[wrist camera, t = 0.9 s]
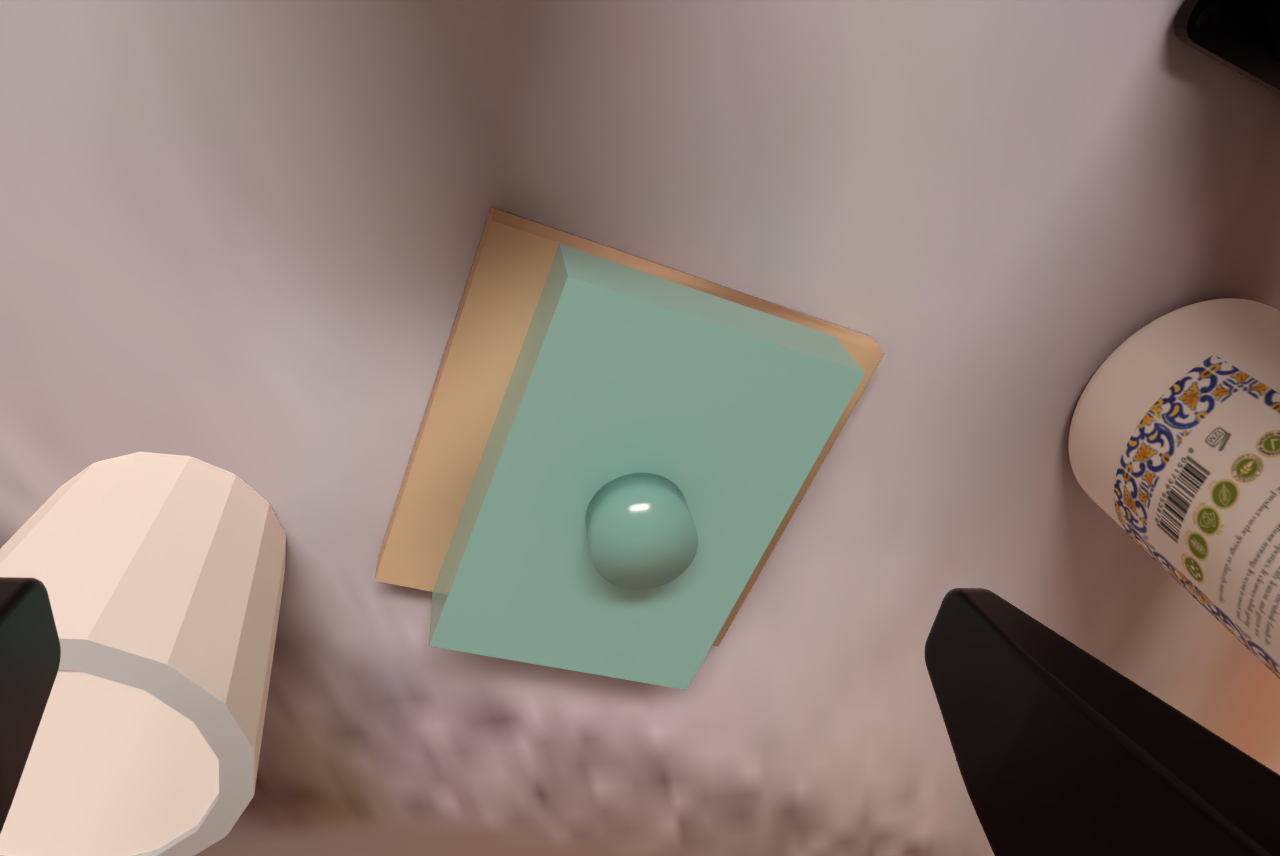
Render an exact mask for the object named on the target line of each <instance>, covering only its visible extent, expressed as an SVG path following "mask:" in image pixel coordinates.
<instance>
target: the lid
mask: <svg viewBox="0 0 1280 856" xmlns="http://www.w3.org/2000/svg"><path fill="white" fill-rule="evenodd" d="M864 374H865V372H864V371H863V370H862V369H861V367H860V366H859V365H858V364H857V363H856V362H855V360H854V359H853V358H852V357H851V356H850V355H849V353H848V352H847V351H846V350H845V349H844V347H843V346H842V345H841V344H840V343H839V342H838V340H837V339H836V338H835V337H834V336H833V335H830V334H827V333H824V332H821V331H818V330H815V329H812V328H809V327H806V326H803V325H800V324H797V323H794V322H791V321H788V320H785V319H782V318H779V317H776V316H773V315H770V314H767V313H765V312H762V311H759V310H756V309H753V308H750V307H747V306H744V305H741V304H738V303H735V302H732V301H729V300H726V299H723V298H720V297H717V296H714V295H711V294H708V293H705V292H702V291H699V290H696V289H693V288H690V287H687V286H684V285H681V284H678V283H675V282H672V281H669V280H666V279H664V278H661V277H658V276H655V275H652V274H649V273H646V272H643V271H640V270H637V269H634V268H631V267H628V266H625V265H622V264H619V263H616V262H613V261H610V260H607V259H604V258H601V257H598V256H595V255H592V254H589V253H586V252H583V251H580V250H577V249H574V248H571V247H568V246H565V245H562V244H560V243H559V246H558V249H557V252H556V254H555V257H554V260H553V263H552V265H551V268H550V271H549V274H548V276H547V279H546V282H545V285H544V287H543V290H542V293H541V296H540V298H539V301H538V304H537V306H536V309H535V312H534V315H533V317H532V320H531V323H530V326H529V328H528V331H527V334H526V337H525V339H524V342H523V345H522V348H521V350H520V353H519V356H518V359H517V361H516V364H515V367H514V370H513V372H512V375H511V378H510V380H509V383H508V386H507V389H506V391H505V394H504V397H503V400H502V402H501V405H500V408H499V411H498V413H497V416H496V419H495V422H494V424H493V427H492V430H491V433H490V435H489V438H488V441H487V444H486V446H485V449H484V452H483V454H482V457H481V460H480V463H479V465H478V468H477V471H476V474H475V476H474V479H473V482H472V485H471V487H470V490H469V493H468V496H467V498H466V501H465V504H464V507H463V509H462V512H461V515H460V518H459V520H458V523H457V526H456V528H455V531H454V534H453V537H452V539H451V542H450V545H449V548H448V550H447V553H446V556H445V559H444V561H443V564H442V567H441V570H440V572H439V575H438V578H437V581H436V583H435V586H434V589H433V592H432V606H431V622H430V638H429V646H431V647H437V648H443V649H449V650H455V651H461V652H466V653H472V654H478V655H484V656H490V657H496V658H502V659H507V660H513V661H519V662H525V663H531V664H537V665H543V666H548V667H554V668H560V669H566V670H572V671H578V672H584V673H590V674H595V675H601V676H607V677H613V678H619V679H625V680H631V681H636V682H642V683H648V684H654V685H660V686H666V687H672V688H677V689H683V690H687V688H688V687H689V685H690V683H691V681H692V680H693V678H694V676H695V674H696V672H697V671H698V669H699V667H700V665H701V664H702V662H703V660H704V658H705V656H706V655H707V653H708V651H709V649H710V648H711V646H712V644H713V642H714V640H715V639H716V637H717V635H718V633H719V632H720V630H721V628H722V626H723V624H724V623H725V621H726V619H727V617H728V616H729V614H730V612H731V610H732V608H733V607H734V605H735V603H736V601H737V600H738V598H739V596H740V594H741V592H742V591H743V589H744V587H745V585H746V584H747V582H748V580H749V578H750V577H751V575H752V573H753V571H754V569H755V568H756V566H757V564H758V562H759V561H760V559H761V557H762V555H763V553H764V552H765V550H766V548H767V546H768V545H769V543H770V541H771V539H772V537H773V536H774V534H775V532H776V530H777V529H778V527H779V525H780V523H781V521H782V520H783V518H784V516H785V514H786V513H787V511H788V509H789V507H790V505H791V504H792V502H793V500H794V498H795V497H796V495H797V493H798V491H799V490H800V488H801V486H802V484H803V482H804V481H805V479H806V477H807V475H808V474H809V472H810V470H811V468H812V466H813V465H814V463H815V461H816V459H817V458H818V456H819V454H820V452H821V450H822V449H823V447H824V445H825V443H826V442H827V440H828V438H829V436H830V434H831V433H832V431H833V429H834V427H835V426H836V424H837V422H838V420H839V418H840V417H841V415H842V413H843V411H844V410H845V408H846V406H847V404H848V402H849V401H850V399H851V397H852V395H853V394H854V392H855V390H856V388H857V387H858V385H859V383H860V381H861V379H862V378H863V376H864Z"/></svg>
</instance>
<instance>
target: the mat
mask: <svg viewBox="0 0 1280 856" xmlns="http://www.w3.org/2000/svg"><path fill="white" fill-rule="evenodd" d="M559 243H560V244H562V245H565V246H568V247H571V248H574V249H577V250H580V251H583V252H586V253H589V254H592V255H595V256H598V257H601V258H604V259H607V260H610V261H613V262H616V263H619V264H622V265H625V266H628V267H631V268H634V269H637V270H640V271H643V272H646V273H649V274H652V275H655V276H658V277H661V278H664V279H666V280H669V281H672V282H675V283H678V284H681V285H684V286H687V287H690V288H693V289H696V290H699V291H702V292H705V293H708V294H711V295H714V296H717V297H720V298H723V299H726V300H729V301H732V302H735V303H738V304H741V305H744V306H747V307H750V308H753V309H756V310H759V311H762V312H765V313H767V314H770V315H773V316H776V317H779V318H782V319H785V320H788V321H791V322H794V323H797V324H800V325H803V326H806V327H809V328H812V329H815V330H818V331H821V332H824V333H827V334H830V335H833V336H834V337H835V338H836V339H837V340H838V342H839V343H840V344H841V345H842V346H843V347H844V349H845V350H846V351H847V352H848V353H849V355H850V356H851V357H852V358H853V359H854V360H855V362H856V363H857V364H858V365H859V366H860V367H861V369H862V370H863V371H864V372H865V374H864V376H863V378H862V379H861V381H860V383H859V385H858V387H857V388H856V390H855V392H854V394H853V395H852V397H851V399H850V401H849V402H848V404H847V406H846V408H845V410H844V411H843V413H842V415H841V417H840V418H839V420H838V422H837V424H836V426H835V427H834V429H833V431H832V433H831V434H830V436H829V438H828V440H827V442H826V443H825V445H824V447H823V449H822V450H821V452H820V454H819V456H818V458H817V459H816V461H815V463H814V465H813V466H812V468H811V470H810V472H809V474H808V475H807V477H806V479H805V481H804V482H803V484H802V486H801V488H800V490H799V491H798V493H797V495H796V497H795V498H794V500H793V502H792V504H791V505H790V507H789V509H788V511H787V513H786V514H785V516H784V518H783V520H782V521H781V523H780V525H779V527H778V529H777V530H776V532H775V534H774V536H773V537H772V539H771V541H770V543H769V545H768V546H767V548H766V550H765V552H764V553H763V555H762V557H761V559H760V561H759V562H758V564H757V566H756V568H755V569H754V571H753V573H752V575H751V577H750V578H749V580H748V582H747V584H746V585H745V587H744V589H743V591H742V592H741V594H740V596H739V598H738V600H737V601H736V603H735V605H734V607H733V608H732V610H731V612H730V614H729V616H728V617H727V619H726V621H725V623H724V624H723V626H722V628H721V630H720V632H719V633H718V635H717V637H716V639H715V640H714V642H713V644H712V645H713V646H719V644H720V642H721V641H722V639H723V637H724V635H725V634H726V632H727V630H728V628H729V626H730V625H731V623H732V621H733V619H734V618H735V616H736V614H737V612H738V611H739V609H740V607H741V605H742V604H743V602H744V600H745V598H746V597H747V595H748V593H749V591H750V589H751V588H752V586H753V584H754V582H755V581H756V579H757V577H758V575H759V574H760V572H761V570H762V568H763V567H764V565H765V563H766V561H767V560H768V558H769V556H770V554H771V553H772V551H773V549H774V547H775V545H776V544H777V542H778V540H779V538H780V537H781V535H782V533H783V531H784V530H785V528H786V526H787V524H788V523H789V521H790V519H791V517H792V516H793V514H794V512H795V510H796V508H797V507H798V505H799V503H800V501H801V500H802V498H803V496H804V494H805V493H806V491H807V489H808V487H809V486H810V484H811V482H812V480H813V479H814V477H815V475H816V473H817V471H818V470H819V468H820V466H821V464H822V463H823V461H824V459H825V457H826V456H827V454H828V452H829V450H830V449H831V447H832V445H833V443H834V442H835V440H836V438H837V436H838V435H839V433H840V431H841V429H842V427H843V426H844V424H845V422H846V420H847V419H848V417H849V415H850V413H851V412H852V410H853V408H854V406H855V405H856V403H857V401H858V399H859V398H860V396H861V394H862V392H863V390H864V389H865V387H866V385H867V383H868V382H869V380H870V378H871V376H872V375H873V373H874V371H875V369H876V368H877V366H878V364H879V362H880V361H881V359H882V357H883V355H884V354H885V353H884V352H883V351H882V349H881V348H880V347H879V346H878V345H877V344H876V343H875V342H874V341H873V340H872V339H871V338H870V337H869V336H867V335H864V334H861V333H858V332H855V331H852V330H849V329H847V328H844V327H841V326H838V325H835V324H832V323H829V322H826V321H823V320H820V319H817V318H814V317H811V316H808V315H806V314H803V313H800V312H797V311H794V310H791V309H788V308H785V307H782V306H779V305H776V304H773V303H770V302H767V301H765V300H762V299H759V298H756V297H753V296H750V295H747V294H744V293H741V292H738V291H735V290H732V289H729V288H727V287H724V286H721V285H718V284H715V283H712V282H709V281H706V280H703V279H700V278H697V277H694V276H691V275H688V274H686V273H683V272H680V271H677V270H674V269H671V268H668V267H665V266H662V265H659V264H656V263H653V262H650V261H647V260H645V259H642V258H639V257H636V256H633V255H630V254H627V253H624V252H621V251H618V250H615V249H612V248H609V247H607V246H604V245H601V244H598V243H595V242H592V241H589V240H586V239H583V238H580V237H577V236H574V235H571V234H568V233H566V232H563V231H560V230H557V229H554V228H551V227H548V226H545V225H542V224H539V223H536V222H533V221H530V220H527V219H525V218H522V217H519V216H516V215H513V214H510V213H507V212H504V211H501V210H498V209H495V208H492V207H491V209H490V212H489V215H488V219H487V222H486V225H485V228H484V231H483V234H482V237H481V240H480V243H479V246H478V250H477V253H476V256H475V259H474V262H473V265H472V268H471V271H470V274H469V277H468V281H467V284H466V287H465V290H464V293H463V296H462V299H461V302H460V305H459V308H458V311H457V315H456V318H455V321H454V324H453V327H452V330H451V333H450V336H449V339H448V342H447V346H446V349H445V352H444V355H443V358H442V361H441V364H440V367H439V370H438V373H437V377H436V380H435V383H434V386H433V389H432V392H431V395H430V398H429V401H428V404H427V407H426V411H425V414H424V417H423V420H422V423H421V426H420V429H419V432H418V435H417V438H416V442H415V445H414V448H413V451H412V454H411V457H410V460H409V463H408V466H407V469H406V473H405V476H404V479H403V482H402V485H401V488H400V491H399V494H398V497H397V500H396V503H395V507H394V510H393V513H392V516H391V519H390V522H389V525H388V528H387V531H386V534H385V538H384V541H383V544H382V547H381V550H380V553H379V556H378V562H377V569H376V576H375V581H378V582H384V583H389V584H394V585H399V586H405V587H410V588H415V589H420V590H426V591H431V592H433V589H434V586H435V583H436V581H437V578H438V575H439V572H440V570H441V567H442V564H443V561H444V559H445V556H446V553H447V550H448V548H449V545H450V542H451V539H452V537H453V534H454V531H455V528H456V526H457V523H458V520H459V518H460V515H461V512H462V509H463V507H464V504H465V501H466V498H467V496H468V493H469V490H470V487H471V485H472V482H473V479H474V476H475V474H476V471H477V468H478V465H479V463H480V460H481V457H482V454H483V452H484V449H485V446H486V444H487V441H488V438H489V435H490V433H491V430H492V427H493V424H494V422H495V419H496V416H497V413H498V411H499V408H500V405H501V402H502V400H503V397H504V394H505V391H506V389H507V386H508V383H509V380H510V378H511V375H512V372H513V370H514V367H515V364H516V361H517V359H518V356H519V353H520V350H521V348H522V345H523V342H524V339H525V337H526V334H527V331H528V328H529V326H530V323H531V320H532V317H533V315H534V312H535V309H536V306H537V304H538V301H539V298H540V296H541V293H542V290H543V287H544V285H545V282H546V279H547V276H548V274H549V271H550V268H551V265H552V263H553V260H554V257H555V254H556V252H557V249H558V246H559Z"/></svg>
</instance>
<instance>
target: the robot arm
mask: <svg viewBox="0 0 1280 856" xmlns="http://www.w3.org/2000/svg"><path fill="white" fill-rule="evenodd" d="M1205 9H1206V14H1207V16H1206V18H1205V21H1204V23H1203V24H1202V25H1201V26H1200V27H1199V28H1198V24H1197V21H1198V19H1199V16H1200V14H1201V13H1202V12H1203V11H1204V10H1205ZM1174 29H1175V33H1176V36H1177V37H1178V38H1179V39H1180V40H1181V41H1183V42H1185V43H1187V44H1188V45H1190V46H1192V47H1194V48H1196V49H1197V50H1199V51H1201V52H1203V53H1205V54H1207V55H1208V56H1210V57H1212V58H1214V59H1216V60H1218V61H1219V62H1221V63H1223V64H1225V65H1227V66H1228V67H1230V68H1232V69H1234V70H1236V71H1238V72H1239V73H1241V74H1243V75H1245V76H1247V77H1248V78H1250V79H1252V80H1254V81H1256V82H1258V83H1259V84H1261V85H1263V86H1265V87H1267V88H1268V89H1270V90H1272V91H1274V92H1276V93H1278V94H1279V95H1280V0H1185V1H1184V2H1183V4H1182V5H1181V7H1180V9H1179V11H1178V13H1177V15H1176V18H1175V25H1174ZM60 657H61V647H60V641H59V637H58V633H57V629H56V625H55V620H54V616H53V612H52V608H51V604H50V600H49V596H48V592H47V589H46V587H45V585H44V584H43V583H42V582H41V581H40V580H38V579H35V578H22V577H0V833H1V831H2V829H3V826H4V823H5V821H6V818H7V815H8V813H9V810H10V808H11V805H12V802H13V799H14V796H15V794H16V791H17V788H18V785H19V782H20V779H21V776H22V773H23V771H24V768H25V765H26V762H27V759H28V756H29V753H30V750H31V748H32V745H33V742H34V739H35V736H36V733H37V730H38V727H39V725H40V722H41V719H42V716H43V713H44V710H45V707H46V704H47V702H48V699H49V696H50V693H51V690H52V687H53V684H54V681H55V679H56V676H57V673H58V669H59V665H60ZM925 661H926V666H927V669H928V672H929V676H930V679H931V682H932V685H933V688H934V691H935V694H936V697H937V701H938V704H939V707H940V710H941V713H942V716H943V719H944V722H945V725H946V729H947V732H948V735H949V738H950V741H951V744H952V747H953V750H954V753H955V757H956V760H957V763H958V766H959V769H960V772H961V775H962V778H963V780H964V783H965V786H966V789H967V792H968V794H969V796H970V799H971V801H972V804H973V806H974V809H975V811H976V814H977V816H978V818H979V821H980V823H981V825H982V827H983V830H984V832H985V834H986V837H987V839H988V841H989V843H990V846H991V848H992V850H993V853H994V855H995V856H1280V775H1279V774H1277V773H1275V772H1274V771H1272V770H1271V769H1269V768H1268V767H1266V766H1264V765H1263V764H1261V763H1260V762H1258V761H1257V760H1255V759H1253V758H1252V757H1250V756H1249V755H1247V754H1246V753H1244V752H1242V751H1241V750H1239V749H1238V748H1236V747H1235V746H1233V745H1231V744H1230V743H1228V742H1227V741H1225V740H1224V739H1222V738H1220V737H1219V736H1217V735H1216V734H1214V733H1213V732H1211V731H1209V730H1208V729H1206V728H1205V727H1203V726H1202V725H1200V724H1198V723H1197V722H1195V721H1194V720H1192V719H1191V718H1189V717H1187V716H1186V715H1184V714H1183V713H1181V712H1180V711H1178V710H1176V709H1175V708H1173V707H1172V706H1170V705H1169V704H1167V703H1165V702H1164V701H1162V700H1161V699H1159V698H1158V697H1156V696H1155V695H1153V694H1151V693H1150V692H1148V691H1147V690H1145V689H1144V688H1142V687H1140V686H1139V685H1137V684H1136V683H1134V682H1133V681H1131V680H1129V679H1128V678H1126V677H1125V676H1123V675H1122V674H1120V673H1118V672H1117V671H1115V670H1114V669H1112V668H1111V667H1109V666H1107V665H1106V664H1104V663H1103V662H1101V661H1100V660H1098V659H1096V658H1095V657H1093V656H1092V655H1090V654H1089V653H1087V652H1085V651H1084V650H1082V649H1081V648H1079V647H1078V646H1076V645H1075V644H1073V643H1071V642H1070V641H1068V640H1067V639H1065V638H1064V637H1062V636H1060V635H1059V634H1057V633H1056V632H1054V631H1053V630H1051V629H1049V628H1048V627H1046V626H1045V625H1043V624H1042V623H1040V622H1038V621H1037V620H1035V619H1034V618H1032V617H1031V616H1029V615H1027V614H1026V613H1024V612H1023V611H1021V610H1020V609H1018V608H1016V607H1015V606H1013V605H1012V604H1010V603H1009V602H1007V601H1005V600H1004V599H1002V598H1001V597H999V596H998V595H996V594H995V593H993V592H991V591H989V590H986V589H981V588H956V589H952V590H950V591H949V592H948V593H947V594H946V595H945V597H944V599H943V601H942V604H941V606H940V609H939V611H938V614H937V616H936V618H935V621H934V623H933V626H932V628H931V631H930V633H929V636H928V638H927V641H926V645H925Z"/></svg>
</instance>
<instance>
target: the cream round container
mask: <svg viewBox="0 0 1280 856" xmlns="http://www.w3.org/2000/svg"><path fill="white" fill-rule="evenodd" d="M285 559H286V535H285V533H284V531H283V529H282V527H281V525H280V523H279V521H278V519H277V517H276V515H275V513H274V511H273V509H272V507H271V505H270V503H269V502H267V501H266V500H265V499H264V498H263V497H262V496H260V495H259V494H258V493H257V492H256V491H255V490H253V489H252V488H251V487H250V486H249V485H248V484H246V483H245V482H244V481H243V480H242V479H241V478H239V477H238V476H237V475H236V474H233V473H231V472H228V471H226V470H223V469H221V468H218V467H216V466H213V465H211V464H209V463H206V462H204V461H201V460H199V459H196V458H194V457H191V456H182V455H171V454H160V453H149V452H137V453H133V454H129V455H124V456H120V457H116V458H111V459H107V460H103V461H98V462H94V463H93V464H91V465H90V466H89V467H87V468H86V469H84V470H83V471H82V472H80V473H79V474H77V475H76V476H75V477H73V478H72V479H70V480H69V481H68V482H66V483H65V484H63V485H62V486H61V487H60V488H59V489H58V490H57V491H56V492H55V493H54V494H53V495H52V496H51V497H50V498H49V499H48V500H47V501H46V502H45V503H44V504H43V505H42V506H41V507H40V508H39V509H38V510H37V511H36V512H35V513H34V515H33V516H32V517H31V518H30V519H29V520H28V521H27V522H26V523H25V524H24V525H23V526H22V527H21V528H20V529H19V530H18V531H17V532H16V533H15V534H14V535H13V536H12V537H11V538H10V539H9V540H8V541H7V543H6V544H5V545H4V546H3V547H2V548H1V549H0V577H22V578H35V579H38V580H40V581H41V582H42V583H43V584H44V585H45V587H46V589H47V592H48V596H49V600H50V604H51V608H52V612H53V616H54V620H55V625H56V629H57V633H58V637H59V641H60V647H61V657H60V665H59V669H58V673H57V676H56V679H55V681H54V684H53V687H52V690H51V693H50V696H49V699H48V702H47V704H46V707H45V710H44V713H43V716H42V719H41V722H40V725H39V727H38V730H37V733H36V736H35V739H34V742H33V745H32V748H31V750H30V753H29V756H28V759H27V762H26V765H25V768H24V771H23V773H22V776H21V779H20V782H19V785H18V788H17V791H16V794H15V796H14V799H13V802H12V805H11V808H10V810H9V813H8V815H7V818H6V821H5V823H4V826H3V829H2V831H1V833H0V856H194V855H196V854H198V853H199V852H201V851H203V850H204V849H206V848H207V847H209V846H211V845H212V844H214V843H216V842H217V841H219V840H221V839H222V838H224V837H226V836H227V835H228V833H229V832H230V830H231V829H232V827H233V826H234V825H235V823H236V822H237V820H238V819H239V817H240V816H241V814H242V813H243V811H244V810H245V808H246V807H247V806H248V804H249V803H250V801H251V800H252V798H253V797H254V792H255V785H256V778H257V770H258V763H259V756H260V749H261V741H262V734H263V727H264V720H265V712H266V705H267V698H268V691H269V684H270V676H271V669H272V662H273V655H274V647H275V640H276V633H277V626H278V618H279V611H280V604H281V597H282V589H283V582H284V575H285Z"/></svg>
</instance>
